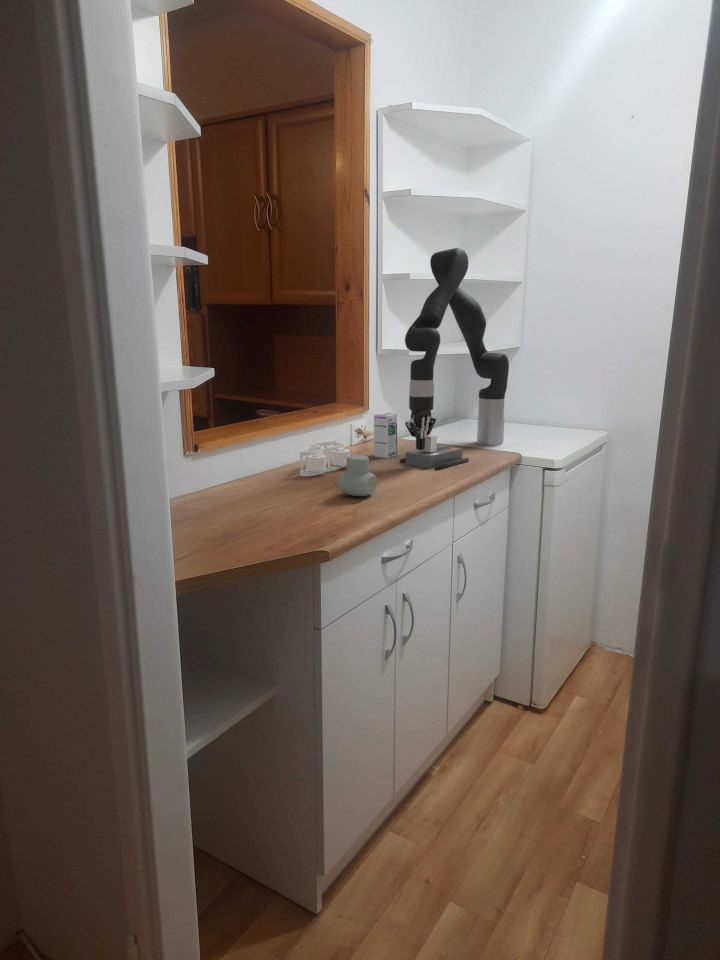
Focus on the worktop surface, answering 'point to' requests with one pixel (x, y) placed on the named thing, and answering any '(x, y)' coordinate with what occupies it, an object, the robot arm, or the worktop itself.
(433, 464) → the breaker panel
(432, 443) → the handle
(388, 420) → the syrup box
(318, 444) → the skeletal toy car
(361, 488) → the air freshener
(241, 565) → the worktop surface
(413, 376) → the robot arm
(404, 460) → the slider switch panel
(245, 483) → the worktop surface
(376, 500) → the worktop surface
